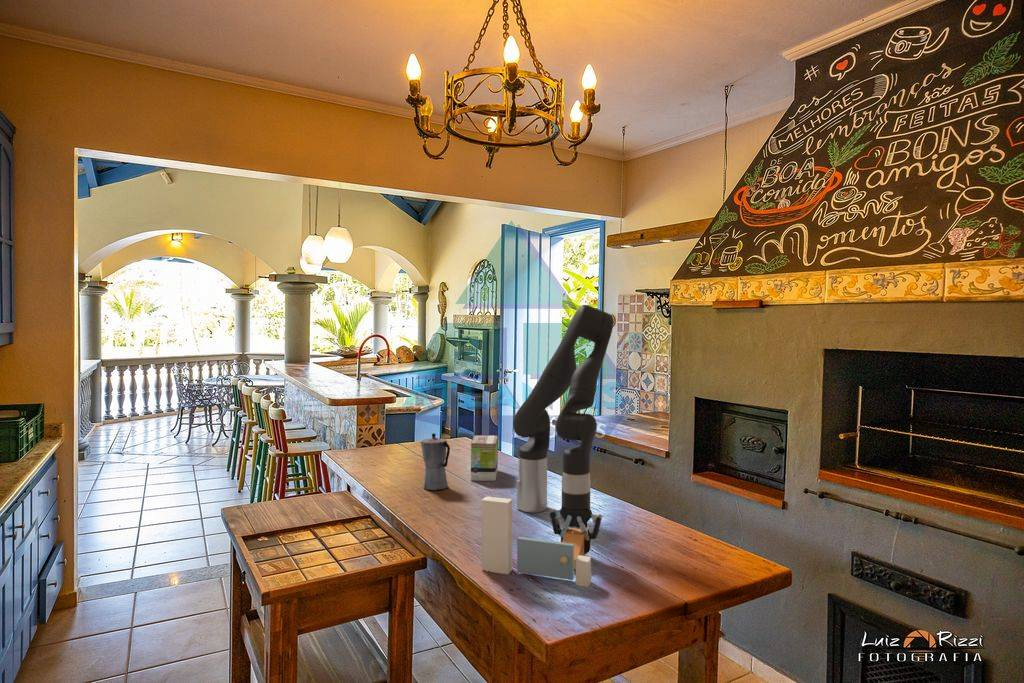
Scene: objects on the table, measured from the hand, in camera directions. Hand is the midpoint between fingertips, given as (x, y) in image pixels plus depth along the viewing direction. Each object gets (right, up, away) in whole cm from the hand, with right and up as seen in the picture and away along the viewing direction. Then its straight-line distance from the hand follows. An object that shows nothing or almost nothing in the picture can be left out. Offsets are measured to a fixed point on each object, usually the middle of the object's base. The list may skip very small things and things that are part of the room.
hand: (575, 551), depth 153 cm
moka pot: (-45, +2, +60) cm, 74 cm away
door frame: (-11, -2, -11) cm, 16 cm away
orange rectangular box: (-1, -1, -3) cm, 4 cm away
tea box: (-28, +2, +75) cm, 80 cm away
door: (-9, -2, -12) cm, 15 cm away
